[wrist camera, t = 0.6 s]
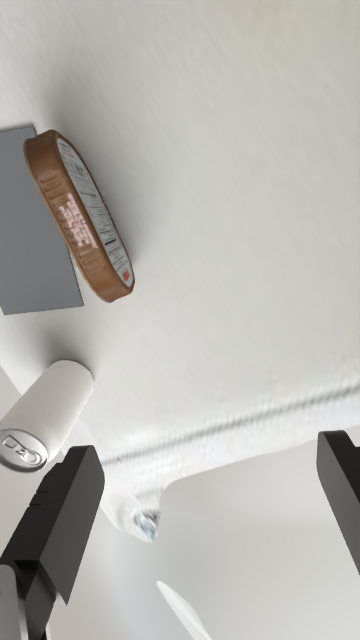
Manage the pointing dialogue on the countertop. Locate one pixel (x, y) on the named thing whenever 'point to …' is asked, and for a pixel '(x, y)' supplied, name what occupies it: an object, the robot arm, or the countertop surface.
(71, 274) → the mat
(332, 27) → the countertop surface
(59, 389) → the can
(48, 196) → the tin
